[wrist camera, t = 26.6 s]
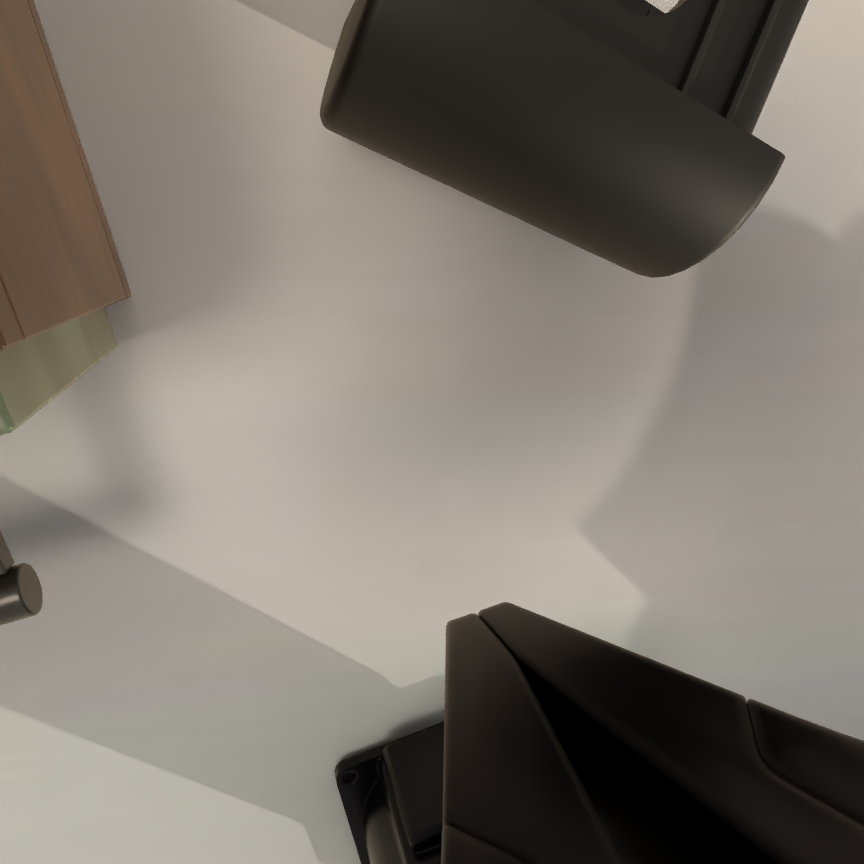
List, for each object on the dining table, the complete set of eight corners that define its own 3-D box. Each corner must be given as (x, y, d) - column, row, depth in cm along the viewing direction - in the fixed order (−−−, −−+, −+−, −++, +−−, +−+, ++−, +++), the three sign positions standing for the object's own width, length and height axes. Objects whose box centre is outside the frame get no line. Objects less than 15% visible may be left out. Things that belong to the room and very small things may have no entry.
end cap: (303, 146, 18) (338, 90, 12) (388, -120, 17) (478, -336, 11) (590, 276, 22) (735, 286, 15) (676, 62, 21) (869, -22, 14)
